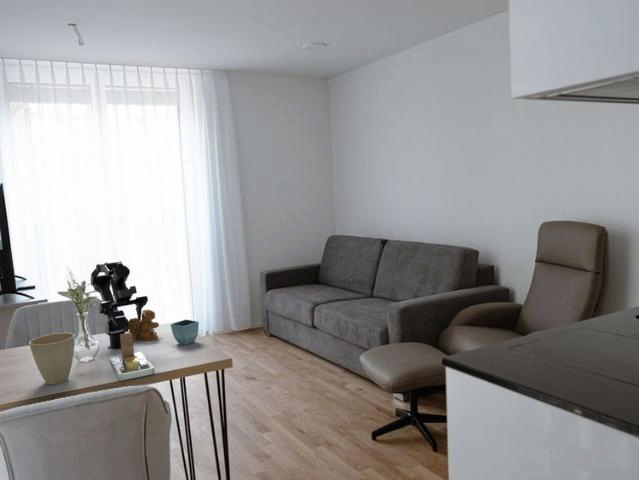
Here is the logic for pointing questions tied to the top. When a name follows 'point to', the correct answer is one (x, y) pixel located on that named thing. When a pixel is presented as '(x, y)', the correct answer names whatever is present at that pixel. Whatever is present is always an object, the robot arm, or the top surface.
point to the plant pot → (54, 356)
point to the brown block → (127, 347)
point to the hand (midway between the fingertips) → (128, 323)
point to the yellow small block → (132, 364)
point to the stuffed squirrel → (144, 327)
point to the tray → (135, 372)
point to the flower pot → (185, 331)
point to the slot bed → (119, 364)
